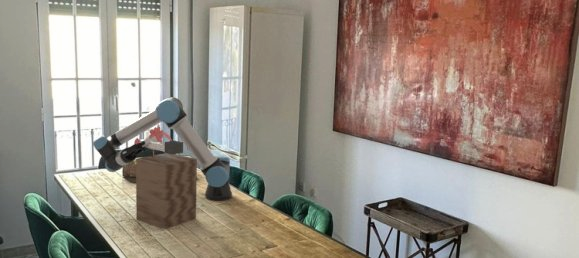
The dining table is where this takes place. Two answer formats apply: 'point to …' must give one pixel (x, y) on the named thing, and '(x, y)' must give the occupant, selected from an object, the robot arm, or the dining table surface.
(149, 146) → the light grey rectangular bar
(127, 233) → the dining table surface
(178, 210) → the pedestal
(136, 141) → the pink flower sprig
